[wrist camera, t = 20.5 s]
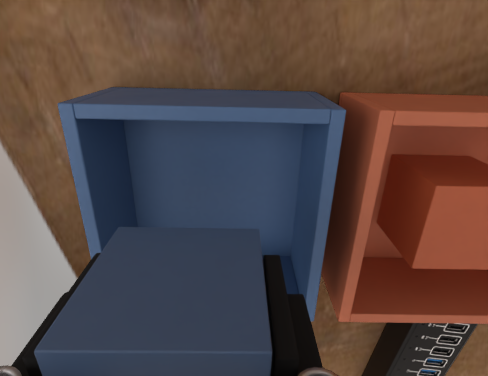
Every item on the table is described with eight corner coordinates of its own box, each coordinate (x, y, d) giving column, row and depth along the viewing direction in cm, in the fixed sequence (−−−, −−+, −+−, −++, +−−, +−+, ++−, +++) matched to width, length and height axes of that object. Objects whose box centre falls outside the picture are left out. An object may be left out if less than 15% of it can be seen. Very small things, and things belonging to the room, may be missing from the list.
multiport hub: (350, 398, 28) (359, 427, 26) (411, 271, 22) (429, 294, 20) (397, 403, 28) (409, 432, 26) (469, 279, 22) (493, 302, 20)
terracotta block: (470, 155, 18) (538, 187, 14) (447, 223, 20) (501, 270, 16) (391, 153, 18) (436, 185, 14) (375, 222, 20) (411, 269, 16)
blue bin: (316, 91, 17) (347, 109, 12) (297, 258, 22) (314, 321, 17) (111, 87, 17) (56, 102, 12) (136, 256, 22) (103, 319, 16)
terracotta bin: (540, 96, 17) (663, 116, 12) (474, 261, 22) (544, 324, 17) (339, 92, 17) (380, 110, 12) (315, 258, 22) (338, 322, 17)
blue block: (259, 228, 10) (272, 353, 6) (254, 329, 12) (262, 479, 8) (118, 226, 10) (32, 351, 6) (135, 329, 12) (79, 479, 8)
